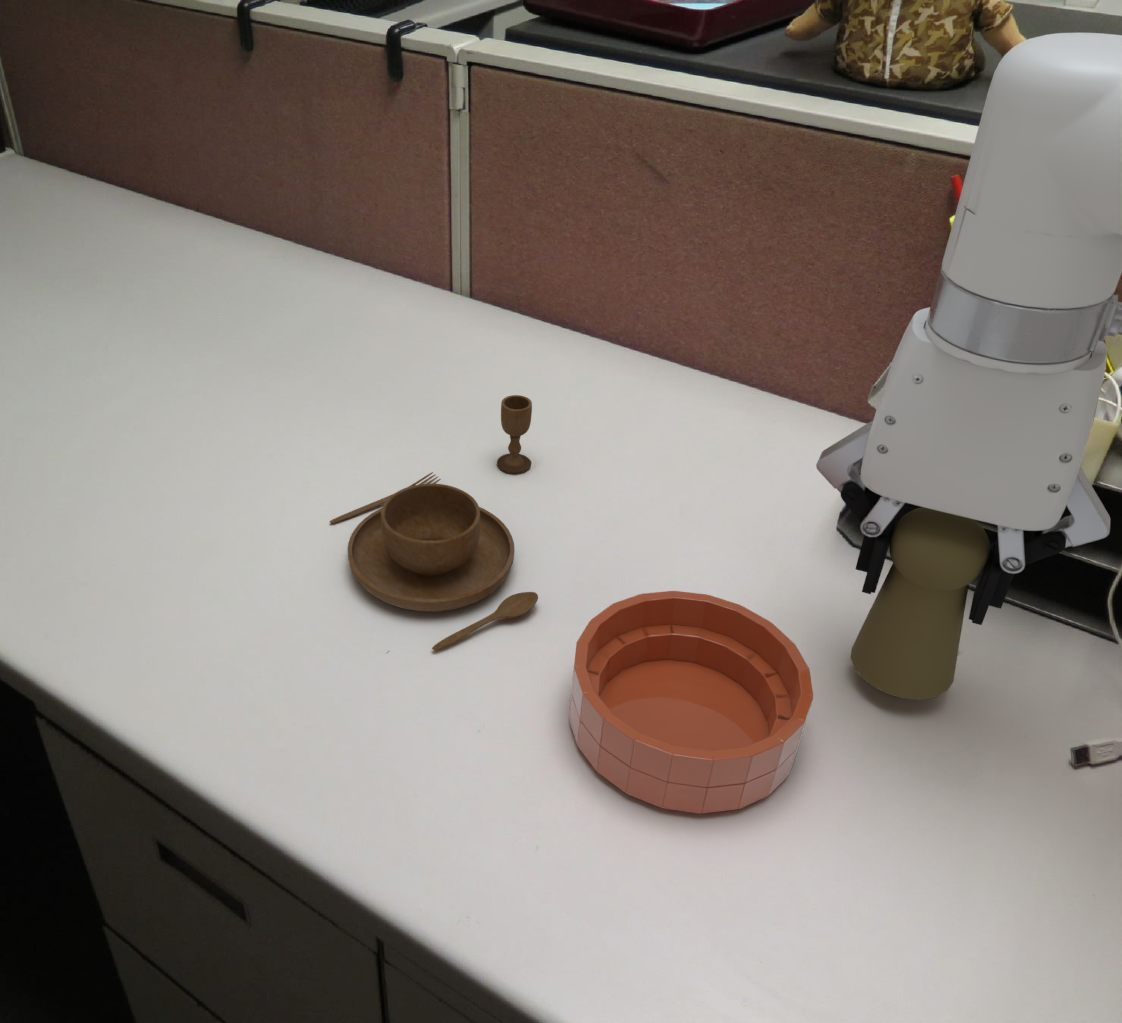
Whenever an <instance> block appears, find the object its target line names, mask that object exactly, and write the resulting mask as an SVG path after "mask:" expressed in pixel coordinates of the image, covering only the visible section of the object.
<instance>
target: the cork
mask: <svg viewBox="0 0 1122 1023" xmlns="http://www.w3.org/2000/svg"><path fill="white" fill-rule="evenodd" d="M896 522H897V523H895V527H894V528H893V532H892V536H891V539H890V544H889V548H888V549H889V556H890V558H891V560H892V564H891V566H890V568H889V570H888V572H887V575H886V576H885V579H884V581H883V583H882V585H881V587H880V589H879V590H878V593H877V594H876V597H875V599H874V601H873V603H872V605H871V608H870V610H869V612H868V614H867V616H866V617H865V620H864V621H863V624H862V625H861V628H860V630H859V631H858V634H857V636H856V638H855V639H854V642H853V644H852V646H851V652H850V660H851V663H852V665H853V668H854V670H855V671H856V672H857V674H858V675H859V676H860V677H861V678H862V679H863V680H864V681H865V682H866V683H868V684H869V685H871V686H872V687H873V688H875V689H876V690H879V691H881V692H884V693H885V694H888V695H890V696H894V697H898V698H901V699H906V700H921V701H922V700H923V701H924V700H928V699H932V698H937V697H939V696H941V695H942V694H944V693H946V692H948V691H949V689H950V687H951V686H952V685H953V683H954V680H955V679H954V678H955V673H956V667H957V660H958V654H959V649H960V642H961V636H962V630H963V623H964V617H965V611H966V605H967V599H968V592H969V585H970V584H971V583H973V582H975V581H976V580H977V579H979V576H980V574H981V573H982V571H983V570H984V568H985V567H986V564H987V562H988V559H989V548H990V540H989V537H988V534H987V532H986V531H985V528H984V527H983V526H982V525H981V524H980V523H979V522H978V520H974V519H970V518H966V517H962V516H958V515H954V514H949V513H945V512H941V511H937V510H933V509H929V508H925V507H918V508H915V509H912V510H911V511H908V512H907V513H905V514H904V515H903V516H901V517H900V519H899V520H898V521H896Z"/></svg>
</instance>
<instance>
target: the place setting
mask: <svg viewBox="0 0 1122 1023" xmlns="http://www.w3.org/2000/svg"><path fill="white" fill-rule="evenodd" d="M532 414H533V402H532V400H531V399H530V398H529V397H527V396H524V395H518V394H514V395H512V394H511V395H508V396H506V397H504V398H502V400H501V404H500V423H501V428H502V430H503V431H504V433H505V434H506V435H508V436H509V439H510V442H509V444H508V446H507V450H508V453H505V454H502V455H501V456H500V457H498V459H497V461H496V466H497V468H498V469H499V470H500V471H502V472H503V473H506V474H511V475H520V474H523V473H526V472H528V471H529V470H530V469H531V467H532V462H531V459H530V458H529V457H527V456H526V455H524V454H522V453H521V451H522V445H521V442H520V440H521V436H524V435H525V434H527V432H528V431H529V429H530V426H531V424H532V423H531V422H532ZM433 473H434V471H432V472H430V473H428V474H427V475H425V476H423V477H422V478H420V479H418V480H417V481H416V482H413V483H412V484H410V485H408V486H407V487H405V488H402V489H400V490H397V491H396V492H394V493H393V494H390V495H387V496H385V497H382V498H380V499H377V500H376V501H373V502H370V503H368V504H366V505H363V506H361V507H358V508H356V509H353V510H352V511H349V512H346V513H344V514H341V515H340V516H337V517H335V518H333V519H331V520H329V523H330V524H336V523H339V522H342V521H345V520H347V519H350V518H352V517H355V516H357V515H360V514H363V513H365V512H367V511H369V510H372V509H374V508H377V507H379V506H381V505H382V506H381V508H378V509H377V510H375V511H374V512H372V513H370V514H369V515H367V516H366V517H365V518H364V519H363V520H361V522H359V523H358V524H357V526H356V527H355V528H354V530H353V531H352V533H351V535H350V536H349V541H348V543H347V559H348V564H349V567H350V570H351V573H352V574H353V576H354V579H356V581H357V582H358V583H359V585H360V586H361V587H362V588H363V589H364V590H365V591H366V592H368V593H369V594H370V595H372V596H373V597H375V598H376V599H378V600H380V601H382V602H384V603H386V604H389V605H391V606H394V607H396V608H401V609H405V610H408V611H409V610H411V611H417V612H444V611H451V610H456V609H460V608H463V607H467V606H470V605H472V604H475V603H477V602H479V601H481V600H483V599H484V598H486V597H488V596H489V595H491V594H492V593H493V592H494V591H495V590H497V589H498V588H499V587H500V586H501V585H502V584H503V582H505V580H506V579H507V577H508V575H509V574H510V572H511V569H512V566H513V563H514V557H515V542H514V538H513V536H512V534H511V532H510V530H509V528H508V526H506V524H505V523H504V522H503V521H502V520H501V519H500V518H499V517H497V516H496V515H495V514H493V513H492V512H490V511H489V510H487V509H485V508H483V507H482V506H479V504H478V502H477V501H476V499H475V498H474V497H473V496H472V495H470V494H469V493H468V492H466V491H464V490H463V489H460V488H458V487H455V486H452V485H447V484H444V483H438V482H439V481H441V480H442V478H439V476H436V475H437V474H433ZM432 474H433V475H432ZM432 478H433V479H432ZM438 478H439V479H438ZM538 601H539V595H538V593H537V592H534V591H524V592H519V593H514V594H511V595H509V596H508V597H506V598H505V599H504V600H502V602H501V603H499V605H498V606H497V608H496V609H495V610H494V611H493V612H492V613H490V614H489V615H487V616H485V617H484V618H482V619H480V620H478V621H476V622H474V623H472V624H469V625H468V626H465V627H464V628H462V629H460V630H457V631H456V632H454V633H452V634H450V635H448V636H447V637H445V638H443V639H441V640H440V641H438V642H437V643H435V645H433V646H432V647H431V649H432V650H433V651H437V650H438V651H439V650H441V649H443V648H446V647H448V646H450V645H452V644H454V643H456V642H458V641H460V640H461V639H462V638H464V637H467V636H468V635H470V634H471V633H473V632H475V631H477V630H478V629H480V628H482V627H484V626H485V625H488V624H489V623H491V622H493V621H496V620H500V619H514V618H517V617H520V616H523V615H525V614H527V613H528V612H530V611H531V610H532V609H533V608H534V607H535V606H536V604H537V602H538Z"/></svg>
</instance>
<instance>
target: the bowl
mask: <svg viewBox="0 0 1122 1023" xmlns="http://www.w3.org/2000/svg"><path fill="white" fill-rule="evenodd" d="M572 673H573V674H572V682H571V690H570V691H571V692H570V700H569V701H570V702H569V712H568V721H569V724H570V727H571V730H572V733H573V737H574V740H575V744H576V745H577V748H578V750H579V751H580V752H581V753H582V755H583V756H584V757H585V759H586V760H587V762H589V763H590V765H591V766H592V768H593V769H594V770H595V772H597V774H599V775H600V776H602V777H603V778H604V779H606V780H607V781H609V782H610V783H611V784H612V785H614V786H615V787H616V788H618V789H619V790H621V792H623V793H625V794H626V795H628V796H631V797H633V798H636V799H638V800H641V801H643V802H646V803H648V804H650V805H653V806H655V807H658V808H661V809H665V810H672V811H679V812H687V813H691V814H707V813H716V812H717V813H718V812H726V811H733V810H740V809H743V808H745V807H746V806H749V805H752V804H754V803H755V802H758V801H760V800H762V799H765V798H767V797H769V796H770V795H772V793H773V792H774V791H775V790H776V789H777V788H778V787H779V786H780V785H781V784H782V783H783V782H784V781H785V780H786V779H787V778H788V777H789V775H790V774H791V771H792V767H793V765H794V762H795V759H796V757H797V753H798V750H799V747H800V744H801V740H802V737H803V733H804V730H805V727H806V723H807V720H808V718H809V713H810V710H811V707H812V704H813V700H814V691H813V684H812V683H813V682H812V676H811V670H810V667H809V666H808V664H807V663H806V661H805V659H804V657H803V655H802V653H801V651H800V650H799V649H798V646H797V645H796V644H795V642H794V641H793V640H791V639H790V638H789V637H788V636H787V635H786V634H785V633H784V632H782V630H780V629H779V628H778V627H777V626H776V625H775V624H774V623H773V622H771V621H770V620H768V619H766V618H765V617H763V616H761V615H760V614H758V613H756V612H754V611H752V610H751V609H748V608H747V607H745V606H743V605H741V604H738V603H736V602H732V601H730V600H726V599H723V598H720V597H718V596H713V595H711V594H708V593H698V592H697V593H696V592H689V591H679V590H667V591H656V592H646V593H639V594H636V595H633V596H630V597H628V598H625V599H621V600H619V601H617V602H614V603H612V604H610V605H609V606H607V607H606V608H605V609H603V610H602V611H600V612H599V613H598V614H597V615H595V616H594V617H593V618H591V619H590V620H589V621H588V623H587V624H586V626H585V628H584V629H583V631H582V633H581V634H580V636H579V637H578V639H577V640H576V643H575V654H574V662H573V671H572Z"/></svg>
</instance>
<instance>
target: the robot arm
mask: <svg viewBox="0 0 1122 1023" xmlns="http://www.w3.org/2000/svg"><path fill="white" fill-rule="evenodd" d="M984 102H985V103H984V105H983V110H982V113H981V117H980V121H979V124H978V128H977V132H976V136H975V139H974V142H973V147H972V151H971V154H970V158H969V160H968V161H969V162H968V166H967V169H966V173H965V176H964V180H963V184H962V188H961V191H960V195H959V199H958V202H957V203H958V204H957V206H956V211H955V214H954V218H953V221H952V225H951V229H950V232H949V237H948V240H947V242H946V247H945V249H944V250H945V251H944V254H943V258H942V262H941V265H940V269H939V273H938V277H937V281H936V284H935V288H934V292H933V296H932V299H931V303H930V306H929V307H925V308H922V309H919V310H917V311H916V312H914V314H913V316H912V317H911V320H910V321H909V323H908V325H907V327H906V329H905V331H904V332H903V335H902V337H901V339H900V342H899V344H898V346H897V349H896V350H895V353H894V356H893V358H892V362H891V363H890V367H889V369H888V372H887V376H886V379H885V381H884V384H883V388H882V390H881V394H880V397H879V400H878V403H877V406H876V410H875V413H874V416H873V420H871V421H869V422H868V423H866V424H864V425H863V426H861V427H859V428H858V429H856V430H854V431H853V432H851V433H850V434H847V435H846V436H845V437H843V438H842V439H840V440H838V441H836V442H835V443H833V444H831V445H830V446H828V447H827V448H824V450H822V451H821V453H820V455H819V458H818V459H817V462H816V464H815V466H816V470H817V471H818V473H820V475H822V477H823V478H824V479H825V480H826V481H827V482H828V483H829V484H830V485H831V486H832V487H833V489H836V490H837V491H838V492H839V493H840V498H841V500H842V501H843V502H844V504H845V505H846V506H847V507H848V509H849V511H851V513H852V514H853V515H854V517H855V518H856V519H857V520H858V522H859V523H860V532H861V533H862V535H863V538H862V542H861V546H860V550H859V553H858V557H857V561H856V564H855V568H854V569H855V570H857V571H860V572H863V573H866V575H865V578H864V582H863V586H862V590H861V593H864V594H868V595H871V594H875V593H876V591H877V587H878V585H879V581H880V578H881V575H882V573H883V572H882V571H883V568H884V565H885V561H886V559H887V554H888V551H889V549H890V548H889V545H890V539H891V536H892V532H893V528H894V527H895V525H896V524H897V523H896V522H897V518H895V517H896V516H897V514H898V513H899V512H900V510H901V509H902V508H903V507H904V505H905V504H908V505H909V504H910V505H913V506H916V507H917V506H918V507H920V508H923V507H925V508H929V509H933V510H937V511H941V512H945V513H949V514H954V515H958V516H962V517H966V518H970V519H974V520H976V521H979V522H983V523H987V524H992V525H995V526H996V527H997V528H996V530H997V538H996V540H995V542H994V543H991V542H990V544H989V559H988V562H987V564H986V567H985V568H984V570H983V571H982V573H981V574H980V575H979V576H978V578H977V579H978V580H977V582H976V584H975V588H974V590H973V595H972V600H971V606H970V610H969V615H968V620H969V621H971V623H972V624H976V625H978V626H983V623H984V620H985V618H986V615H987V612H988V610H989V607H992V608H997V609H999V610H1000V609H1002V607H1003V604H1004V603H1005V599H1006V597H1007V595H1008V591H1009V589H1010V587H1011V583H1012V581H1013V579H1014V576H1015V574H1019V573H1021V572H1023V570H1024V569H1025V566H1026V565H1029V564H1032V563H1035V562H1037V561H1040V560H1043V559H1046V558H1049V557H1052V556H1054V555H1057V554H1060V553H1062V552H1063V551H1064V550H1065V549H1066V548H1069V547H1070V548H1071V547H1073V548H1074V547H1079V546H1082V545H1085V544H1089V543H1093V542H1096V541H1099V540H1102V539H1103V540H1104V539H1105V538H1107V537H1108V536H1109V535H1110V532H1111V517H1110V514H1109V513H1108V511H1107V510H1106V508H1105V505H1104V504H1103V502H1102V501H1101V499H1100V497H1099V496H1098V494H1097V492H1096V491H1095V489H1094V487H1093V486H1092V483H1091V482H1090V480H1089V478H1088V477H1087V475H1086V474H1085V472H1084V470H1083V469H1082V467H1081V465H1082V461H1083V459H1084V457H1085V456H1084V455H1085V453H1086V449H1087V445H1088V442H1089V439H1090V436H1091V432H1092V429H1093V426H1094V422H1095V417H1096V411H1097V407H1098V402H1099V398H1100V395H1101V394H1100V393H1101V390H1102V387H1103V384H1104V380H1105V374H1106V367H1107V360H1108V346H1107V344H1106V343H1105V340H1106V337H1107V336H1108V337H1114V338H1115V337H1117V335H1120V336H1122V302H1121V301H1119V295H1118V294H1114V293H1115V291H1116V290H1117V287H1118V284H1119V281H1120V278H1121V276H1122V35H1121V34H1113V33H1103V32H1101V33H1100V32H1057V33H1047V34H1044V35H1039V36H1035V37H1030V38H1028V39H1025V40H1023V41H1021V42H1019V43H1017V44H1016V45H1014V46H1013V47H1012V48H1010V49H1009V50H1008V51H1007V52H1006V53H1005V54H1004V55H1003V57H1002V58H1001V60H999V62H998V63H997V66H996V68H995V70H994V73H993V76H992V78H991V81H990V84H989V88H988V90H987V94H986V97H985V101H984ZM859 461H861V467H860V472H858V471H857V468H856V466H854V464H855V463H857V462H859ZM1066 508H1067V509H1068V511H1069V513H1070V514H1069V515H1067V516H1064V517H1063V518H1062V516H1063V514H1064V512H1065V510H1066Z"/></svg>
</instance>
